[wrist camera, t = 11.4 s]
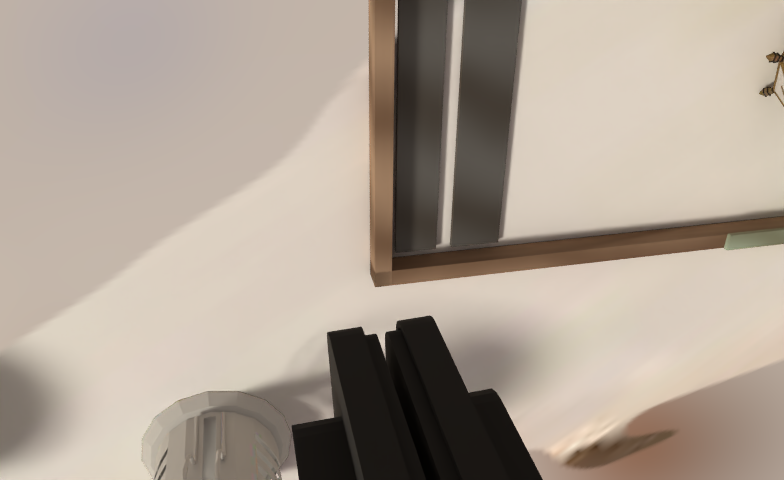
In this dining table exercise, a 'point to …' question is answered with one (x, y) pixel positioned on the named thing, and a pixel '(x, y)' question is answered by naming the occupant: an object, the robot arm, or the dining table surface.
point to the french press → (217, 439)
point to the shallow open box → (475, 155)
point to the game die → (776, 78)
